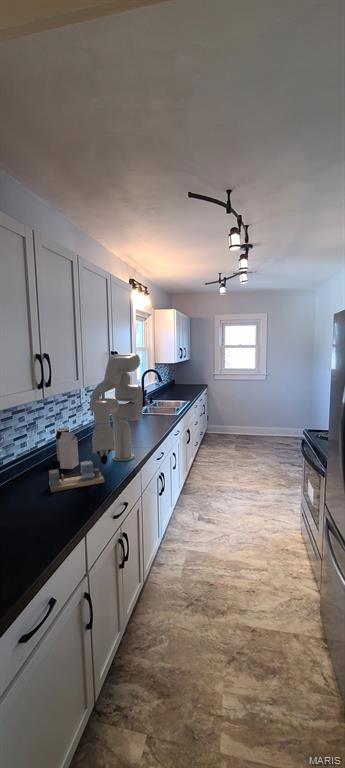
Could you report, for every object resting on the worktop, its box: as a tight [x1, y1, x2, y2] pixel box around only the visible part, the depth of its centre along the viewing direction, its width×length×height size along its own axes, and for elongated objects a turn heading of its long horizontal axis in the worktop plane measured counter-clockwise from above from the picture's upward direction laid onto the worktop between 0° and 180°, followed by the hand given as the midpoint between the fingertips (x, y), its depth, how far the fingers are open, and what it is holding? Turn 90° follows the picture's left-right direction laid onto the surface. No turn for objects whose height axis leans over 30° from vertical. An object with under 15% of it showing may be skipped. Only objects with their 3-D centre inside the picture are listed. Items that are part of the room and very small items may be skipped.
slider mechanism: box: [48, 467, 106, 493], centre depth 164 cm, size 10×24×8 cm, turn 114°
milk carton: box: [59, 431, 80, 470], centre depth 187 cm, size 7×7×19 cm
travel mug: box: [55, 427, 70, 462], centre depth 199 cm, size 8×8×18 cm
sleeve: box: [79, 460, 95, 480], centre depth 166 cm, size 6×5×7 cm
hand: (104, 463), depth 168 cm, fingers closed
